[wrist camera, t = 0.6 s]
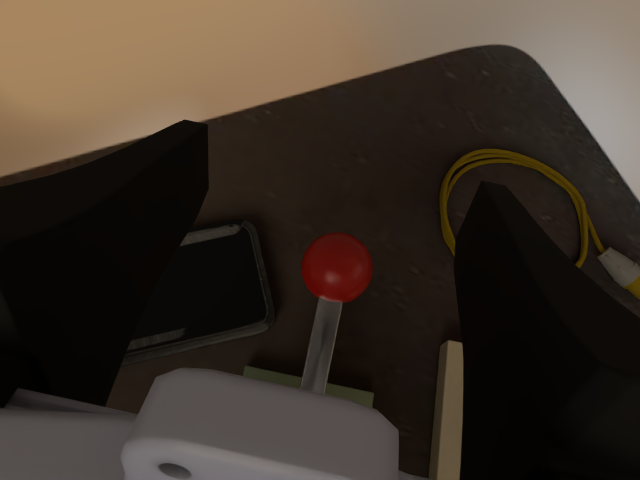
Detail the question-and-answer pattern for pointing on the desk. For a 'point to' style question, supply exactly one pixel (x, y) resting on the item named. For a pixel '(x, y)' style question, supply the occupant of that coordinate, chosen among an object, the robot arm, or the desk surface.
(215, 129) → the desk surface
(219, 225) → the phone
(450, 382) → the switch plate
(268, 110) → the desk surface
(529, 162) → the extension cord
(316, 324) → the switch lever
